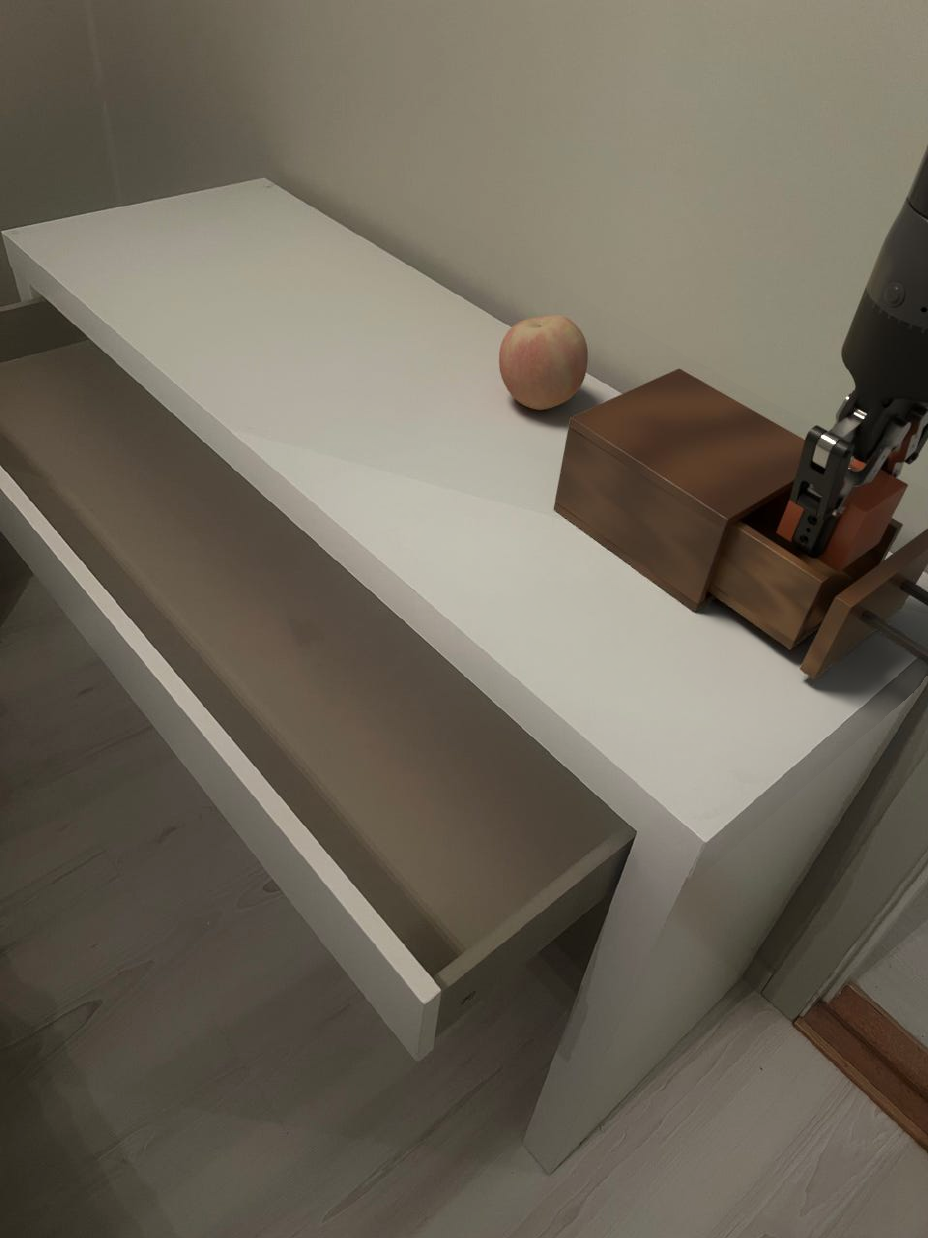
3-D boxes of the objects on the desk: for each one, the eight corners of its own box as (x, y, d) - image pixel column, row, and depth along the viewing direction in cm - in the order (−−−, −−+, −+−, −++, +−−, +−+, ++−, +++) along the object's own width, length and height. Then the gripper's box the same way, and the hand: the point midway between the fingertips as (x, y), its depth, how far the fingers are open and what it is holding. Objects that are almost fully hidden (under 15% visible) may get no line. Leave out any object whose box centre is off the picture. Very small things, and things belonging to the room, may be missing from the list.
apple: (559, 375, 89) (572, 295, 83) (594, 418, 84) (611, 337, 78) (482, 385, 87) (490, 304, 81) (514, 430, 82) (525, 347, 76)
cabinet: (795, 545, 73) (834, 455, 67) (694, 613, 67) (727, 520, 61) (655, 456, 81) (679, 367, 75) (552, 509, 74) (569, 416, 68)
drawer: (987, 663, 64) (1038, 592, 60) (903, 744, 59) (951, 672, 54) (752, 513, 74) (779, 442, 70) (660, 569, 69) (682, 496, 64)
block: (878, 543, 63) (909, 484, 60) (838, 573, 61) (867, 512, 57) (817, 506, 66) (842, 447, 62) (775, 533, 63) (799, 472, 60)
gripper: (934, 362, 46) (816, 610, 57) (1061, 290, 53) (932, 523, 65) (806, 301, 49) (720, 545, 61) (940, 242, 56) (840, 471, 68)
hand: (830, 533), depth 63 cm, fingers closed on block, 5 cm apart
